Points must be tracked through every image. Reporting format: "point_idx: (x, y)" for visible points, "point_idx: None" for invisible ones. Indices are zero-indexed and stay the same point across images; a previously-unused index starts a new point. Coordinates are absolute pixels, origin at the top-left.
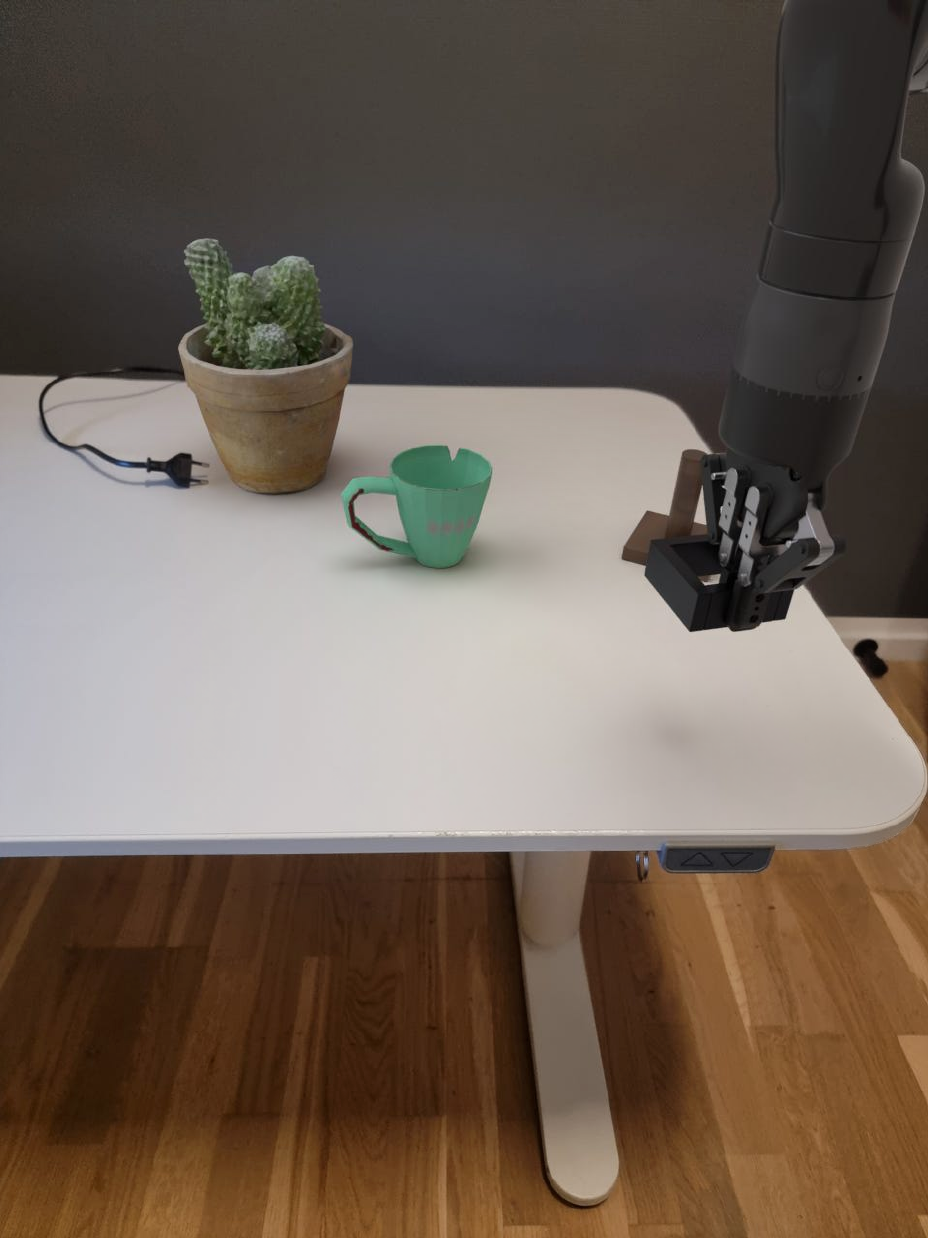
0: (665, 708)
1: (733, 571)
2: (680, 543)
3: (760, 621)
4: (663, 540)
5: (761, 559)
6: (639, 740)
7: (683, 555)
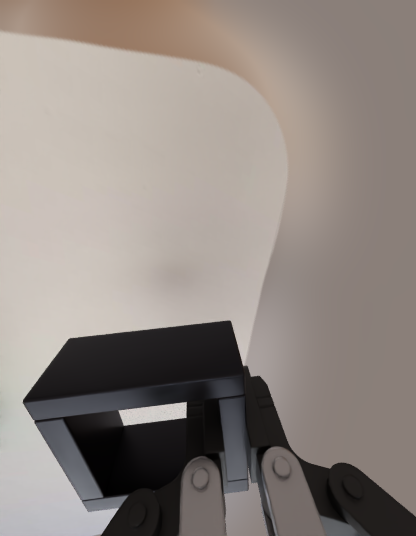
0: (146, 276)
1: (225, 480)
2: (98, 488)
3: (267, 387)
4: (89, 501)
5: (153, 403)
6: (180, 303)
7: (105, 454)
